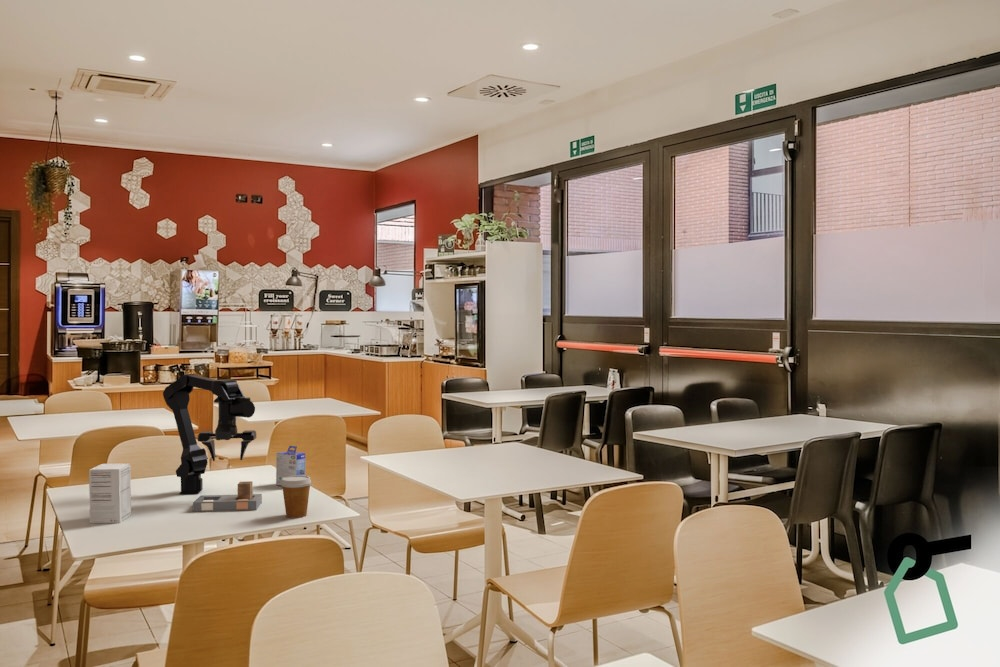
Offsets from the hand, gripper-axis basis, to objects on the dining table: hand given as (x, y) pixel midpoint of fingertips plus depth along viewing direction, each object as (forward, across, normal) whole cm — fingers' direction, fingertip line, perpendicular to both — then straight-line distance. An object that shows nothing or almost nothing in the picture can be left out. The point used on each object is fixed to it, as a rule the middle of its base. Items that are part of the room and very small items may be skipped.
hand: (227, 460), depth 282 cm
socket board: (+13, +3, -14) cm, 19 cm away
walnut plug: (+13, +8, -14) cm, 21 cm away
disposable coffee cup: (+13, +27, -28) cm, 41 cm away
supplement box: (+13, -30, -26) cm, 42 cm away
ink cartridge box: (+13, +19, +18) cm, 29 cm away
